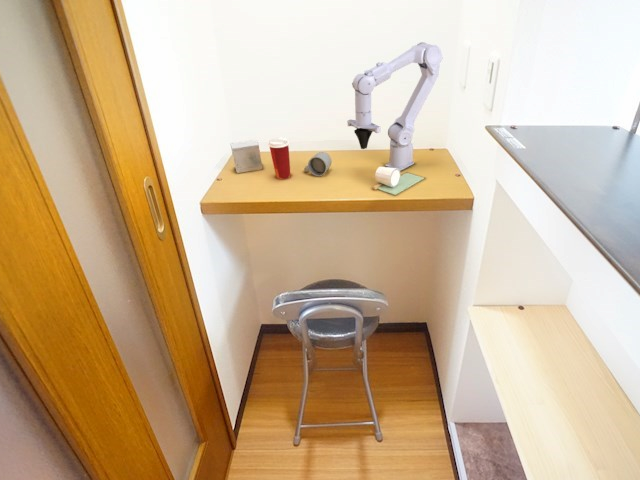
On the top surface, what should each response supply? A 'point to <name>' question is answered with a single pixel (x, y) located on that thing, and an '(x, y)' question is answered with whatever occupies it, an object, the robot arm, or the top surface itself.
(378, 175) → the beige short cylinder
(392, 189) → the mat
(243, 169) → the grey concrete block
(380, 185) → the stop batten
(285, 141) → the paper cup
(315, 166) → the ceramic mug
